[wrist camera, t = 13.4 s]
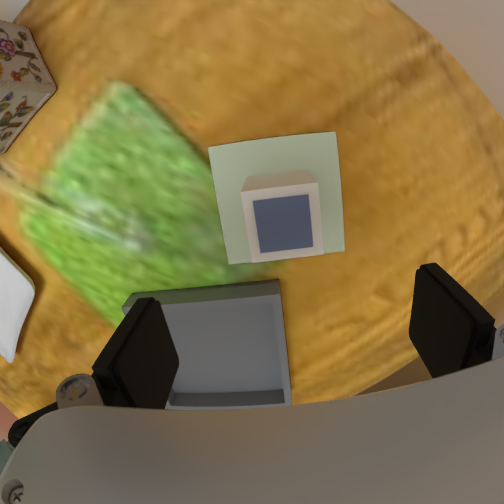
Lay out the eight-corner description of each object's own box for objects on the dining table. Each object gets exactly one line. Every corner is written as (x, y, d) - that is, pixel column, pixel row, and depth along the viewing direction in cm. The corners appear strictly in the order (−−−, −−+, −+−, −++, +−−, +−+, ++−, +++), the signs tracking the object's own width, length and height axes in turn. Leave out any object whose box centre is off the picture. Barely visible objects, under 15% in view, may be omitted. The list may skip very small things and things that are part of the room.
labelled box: (310, 224, 28) (324, 255, 21) (255, 231, 28) (251, 263, 21) (305, 169, 26) (318, 182, 19) (247, 176, 26) (240, 192, 20)
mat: (342, 247, 29) (344, 251, 28) (229, 261, 30) (228, 264, 29) (333, 131, 25) (335, 131, 24) (209, 146, 26) (207, 147, 25)
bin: (291, 389, 36) (292, 406, 34) (172, 393, 38) (166, 409, 35) (279, 279, 31) (279, 294, 28) (132, 293, 32) (121, 307, 29)
